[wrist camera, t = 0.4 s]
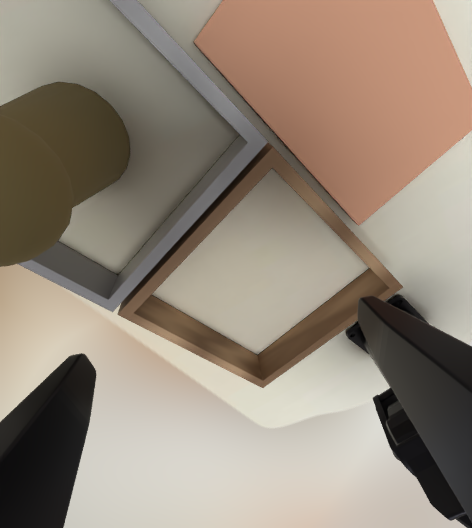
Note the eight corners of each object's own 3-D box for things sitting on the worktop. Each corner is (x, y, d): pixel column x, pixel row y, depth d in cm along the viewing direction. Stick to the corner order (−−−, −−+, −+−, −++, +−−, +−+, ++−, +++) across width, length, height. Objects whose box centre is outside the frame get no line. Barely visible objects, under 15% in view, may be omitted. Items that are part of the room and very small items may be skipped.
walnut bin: (382, 266, 26) (403, 286, 23) (257, 362, 31) (262, 387, 28) (262, 137, 19) (273, 146, 16) (125, 289, 24) (117, 314, 21)
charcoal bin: (258, 132, 18) (268, 141, 16) (121, 287, 23) (112, 312, 21) (-12, -158, 11) (-70, -223, 9) (-124, 150, 17) (-182, 163, 14)
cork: (90, 62, 16) (-60, 42, 6) (148, 168, 19) (104, 256, 10) (-5, 108, 16) (-268, 151, 7) (67, 203, 19) (-47, 317, 10)
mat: (475, 117, 20) (485, 118, 19) (353, 221, 23) (358, 225, 22) (343, -168, 12) (351, -182, 12) (193, 43, 16) (193, 41, 15)
